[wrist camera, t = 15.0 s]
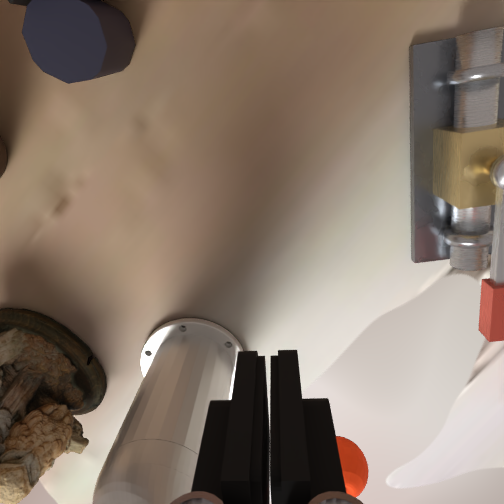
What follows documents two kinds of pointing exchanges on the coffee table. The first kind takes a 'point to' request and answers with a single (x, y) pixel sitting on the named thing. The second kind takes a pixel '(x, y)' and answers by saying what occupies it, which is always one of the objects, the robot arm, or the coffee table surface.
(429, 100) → the valve body
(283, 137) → the coffee table surface
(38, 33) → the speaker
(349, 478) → the clementine
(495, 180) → the valve lever
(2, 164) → the plant pot
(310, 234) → the coffee table surface
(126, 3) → the coffee table surface
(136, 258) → the coffee table surface
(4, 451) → the owl figurine
